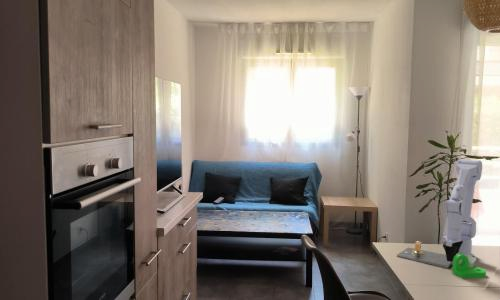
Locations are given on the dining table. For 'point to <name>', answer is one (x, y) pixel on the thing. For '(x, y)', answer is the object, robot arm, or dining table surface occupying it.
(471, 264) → the cover
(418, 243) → the t key
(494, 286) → the dining table surface
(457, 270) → the mechanical part
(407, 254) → the latch plate
